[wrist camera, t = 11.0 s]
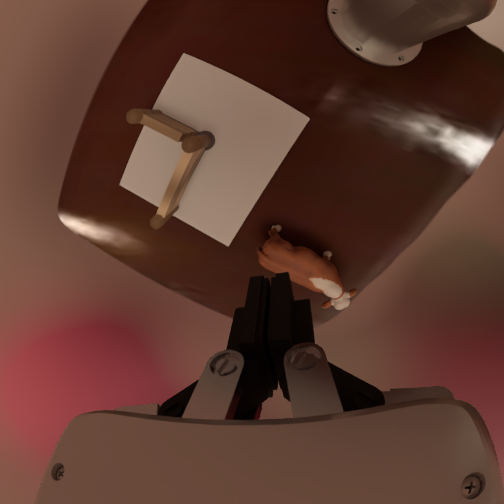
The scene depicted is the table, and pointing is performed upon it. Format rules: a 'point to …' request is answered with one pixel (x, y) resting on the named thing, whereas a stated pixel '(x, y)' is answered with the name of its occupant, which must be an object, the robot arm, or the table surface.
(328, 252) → the bull figurine
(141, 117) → the fixed fence section
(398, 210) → the table surface
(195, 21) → the table surface
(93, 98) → the table surface
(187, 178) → the fence panel
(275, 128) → the card
